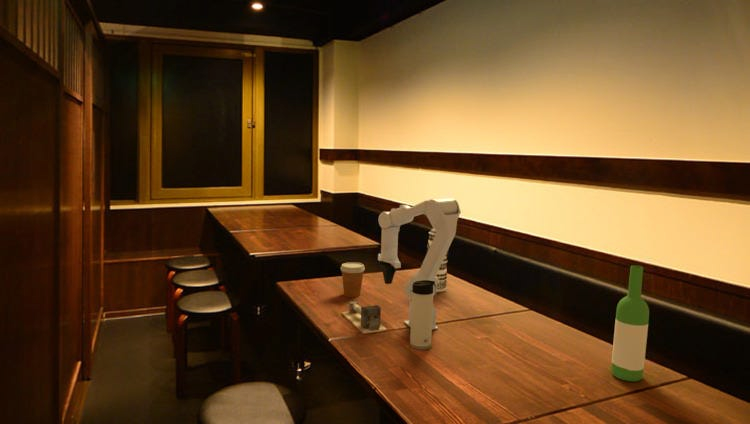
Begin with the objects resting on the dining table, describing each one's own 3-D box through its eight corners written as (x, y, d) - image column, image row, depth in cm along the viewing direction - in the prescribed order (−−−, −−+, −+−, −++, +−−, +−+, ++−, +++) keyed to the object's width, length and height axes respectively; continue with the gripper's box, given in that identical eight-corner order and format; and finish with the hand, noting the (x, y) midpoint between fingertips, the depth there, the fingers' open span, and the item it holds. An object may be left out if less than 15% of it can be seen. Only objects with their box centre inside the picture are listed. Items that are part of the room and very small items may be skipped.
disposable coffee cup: (336, 292, 210) (336, 263, 208) (358, 290, 214) (359, 261, 212) (345, 299, 201) (345, 268, 200) (368, 297, 205) (368, 266, 204)
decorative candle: (450, 288, 221) (453, 228, 217) (441, 293, 213) (444, 232, 209) (431, 284, 225) (433, 226, 222) (421, 289, 218) (423, 229, 214)
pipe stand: (386, 330, 170) (386, 318, 169) (363, 333, 167) (363, 321, 166) (363, 311, 188) (363, 300, 188) (341, 313, 185) (342, 302, 184)
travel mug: (431, 351, 154) (433, 284, 152) (408, 348, 156) (411, 282, 153) (433, 343, 160) (435, 279, 158) (411, 341, 162) (413, 277, 159)
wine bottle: (615, 367, 147) (625, 261, 142) (645, 376, 142) (657, 266, 138) (606, 376, 141) (616, 266, 136) (638, 386, 136) (650, 271, 132)
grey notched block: (380, 326, 171) (380, 307, 171) (364, 328, 169) (364, 309, 168) (376, 323, 174) (377, 305, 173) (360, 325, 172) (361, 306, 171)
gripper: (370, 242, 190) (369, 279, 192) (387, 250, 177) (386, 290, 179) (388, 241, 193) (387, 277, 195) (406, 249, 180) (405, 288, 182)
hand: (388, 283), depth 187 cm, fingers closed
